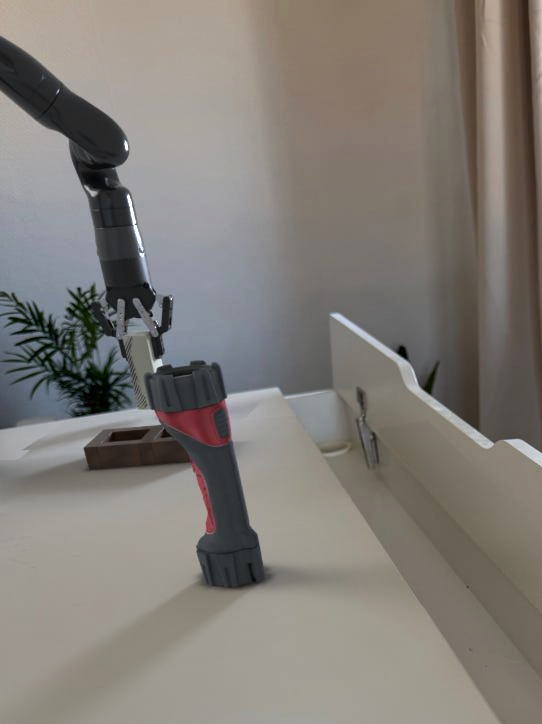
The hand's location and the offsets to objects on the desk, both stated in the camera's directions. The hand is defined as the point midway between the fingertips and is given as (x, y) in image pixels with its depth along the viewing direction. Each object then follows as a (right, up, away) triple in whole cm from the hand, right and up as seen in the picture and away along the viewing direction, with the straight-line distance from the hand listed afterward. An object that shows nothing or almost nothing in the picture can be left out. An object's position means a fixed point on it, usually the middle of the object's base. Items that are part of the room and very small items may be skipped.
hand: (144, 359), depth 170 cm
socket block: (+9, -21, -20) cm, 30 cm away
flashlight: (+31, -43, -64) cm, 83 cm away
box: (+1, -8, +4) cm, 9 cm away
